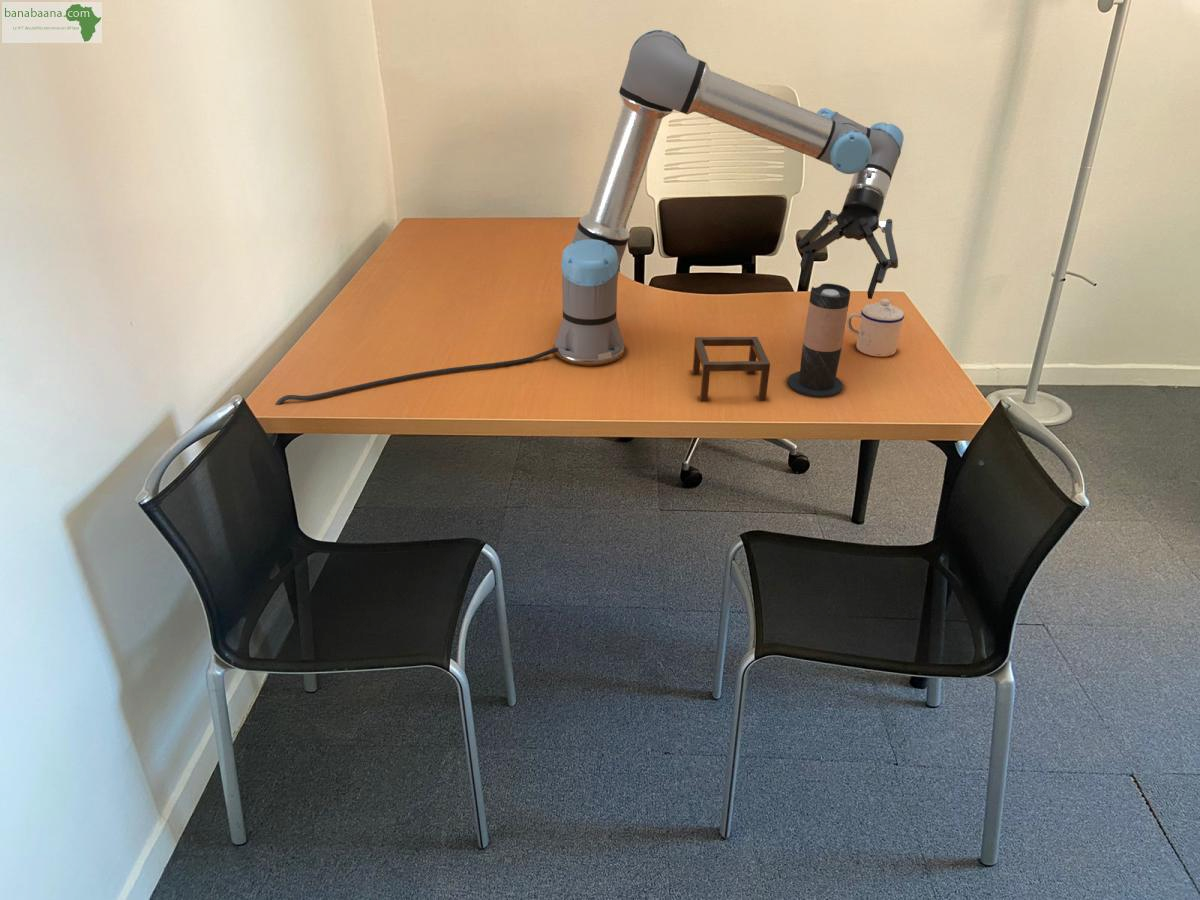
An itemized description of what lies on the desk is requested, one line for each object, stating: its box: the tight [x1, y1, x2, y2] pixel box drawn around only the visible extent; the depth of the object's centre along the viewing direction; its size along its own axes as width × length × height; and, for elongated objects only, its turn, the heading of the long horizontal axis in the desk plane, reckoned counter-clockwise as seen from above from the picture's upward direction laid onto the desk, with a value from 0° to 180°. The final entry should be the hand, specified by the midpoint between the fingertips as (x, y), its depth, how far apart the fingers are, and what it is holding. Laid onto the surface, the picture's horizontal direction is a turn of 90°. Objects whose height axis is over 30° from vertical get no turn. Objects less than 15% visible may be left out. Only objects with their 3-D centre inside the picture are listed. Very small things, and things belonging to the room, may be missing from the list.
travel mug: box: [799, 283, 851, 390], centre depth 173 cm, size 8×8×20 cm
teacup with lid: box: [846, 298, 905, 358], centre depth 192 cm, size 12×9×12 cm
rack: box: [692, 336, 771, 402], centre depth 176 cm, size 13×13×8 cm
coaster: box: [787, 371, 843, 398], centre depth 178 cm, size 11×11×1 cm
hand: (835, 289), depth 173 cm, fingers open, 13 cm apart
